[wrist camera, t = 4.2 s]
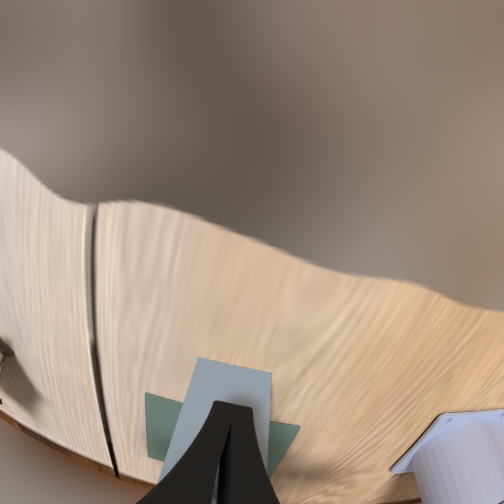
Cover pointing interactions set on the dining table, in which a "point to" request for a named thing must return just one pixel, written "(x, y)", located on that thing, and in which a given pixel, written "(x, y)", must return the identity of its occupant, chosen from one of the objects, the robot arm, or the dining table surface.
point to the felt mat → (165, 419)
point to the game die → (0, 360)
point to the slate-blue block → (227, 390)
